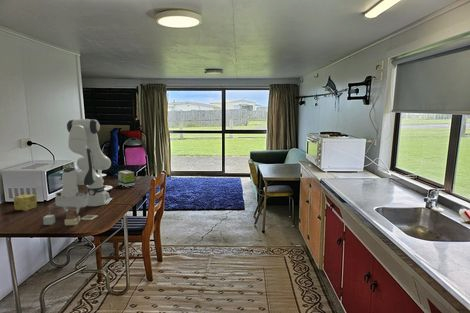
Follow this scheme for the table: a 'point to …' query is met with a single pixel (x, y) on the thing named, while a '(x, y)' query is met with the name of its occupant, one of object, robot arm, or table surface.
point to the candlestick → (103, 180)
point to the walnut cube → (71, 214)
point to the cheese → (25, 202)
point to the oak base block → (72, 221)
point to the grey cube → (49, 219)
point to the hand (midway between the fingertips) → (72, 212)
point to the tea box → (126, 178)
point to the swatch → (89, 217)
